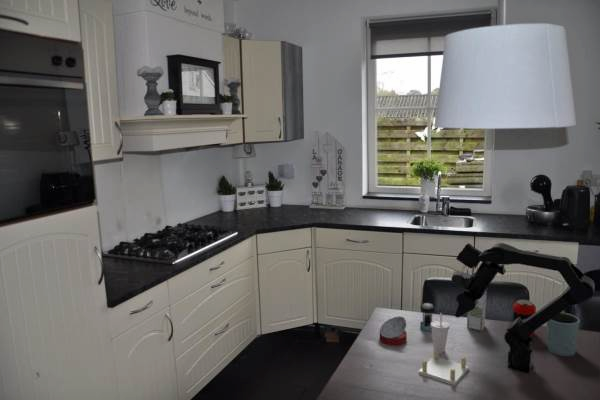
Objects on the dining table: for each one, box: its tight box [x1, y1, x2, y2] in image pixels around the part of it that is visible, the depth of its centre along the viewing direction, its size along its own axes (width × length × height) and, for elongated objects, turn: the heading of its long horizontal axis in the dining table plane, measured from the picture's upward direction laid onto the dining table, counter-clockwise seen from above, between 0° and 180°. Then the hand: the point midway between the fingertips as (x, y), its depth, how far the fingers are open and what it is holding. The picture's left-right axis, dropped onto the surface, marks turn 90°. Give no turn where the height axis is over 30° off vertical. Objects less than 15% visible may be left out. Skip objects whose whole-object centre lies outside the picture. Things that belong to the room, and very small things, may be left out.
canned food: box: [379, 316, 408, 347], centre depth 185 cm, size 11×10×10 cm
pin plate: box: [418, 349, 470, 386], centre depth 162 cm, size 12×12×4 cm
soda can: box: [512, 299, 537, 338], centre depth 187 cm, size 8×8×12 cm
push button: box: [419, 302, 436, 331], centre depth 192 cm, size 7×5×10 cm
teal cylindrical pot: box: [546, 311, 581, 357], centre depth 173 cm, size 10×10×12 cm
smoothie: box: [431, 312, 450, 353], centre depth 175 cm, size 6×6×14 cm
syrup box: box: [466, 291, 487, 332], centre depth 193 cm, size 6×6×14 cm
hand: (459, 312), depth 172 cm, fingers open, 9 cm apart
